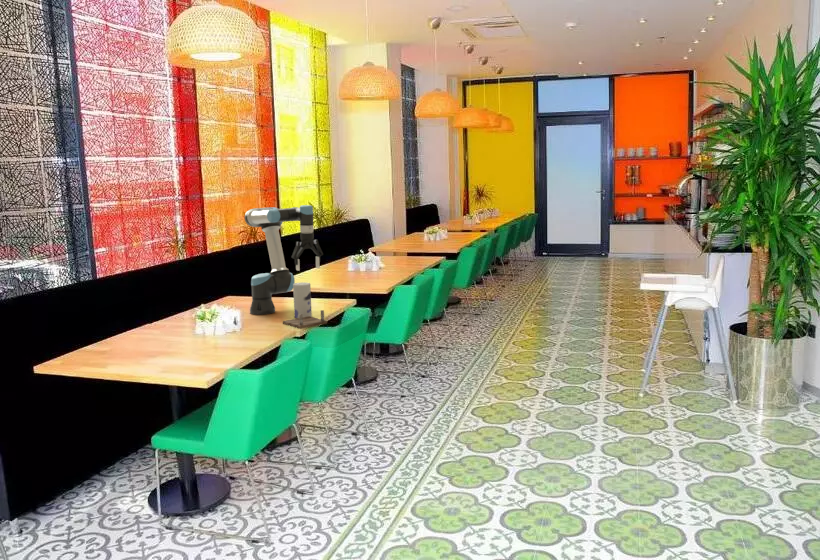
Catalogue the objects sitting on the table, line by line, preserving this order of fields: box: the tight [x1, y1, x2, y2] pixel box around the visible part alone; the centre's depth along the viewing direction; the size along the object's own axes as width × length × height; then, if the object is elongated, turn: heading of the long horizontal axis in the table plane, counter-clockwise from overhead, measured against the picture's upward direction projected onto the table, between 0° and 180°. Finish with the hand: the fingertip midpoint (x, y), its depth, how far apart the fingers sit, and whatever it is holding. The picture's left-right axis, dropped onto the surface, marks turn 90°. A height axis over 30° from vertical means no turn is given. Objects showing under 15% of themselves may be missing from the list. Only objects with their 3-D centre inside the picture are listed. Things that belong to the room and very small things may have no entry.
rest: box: [282, 310, 328, 329], centre depth 412 cm, size 18×18×8 cm
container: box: [292, 281, 313, 319], centre depth 429 cm, size 10×10×20 cm
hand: (307, 269), depth 423 cm, fingers open, 13 cm apart
